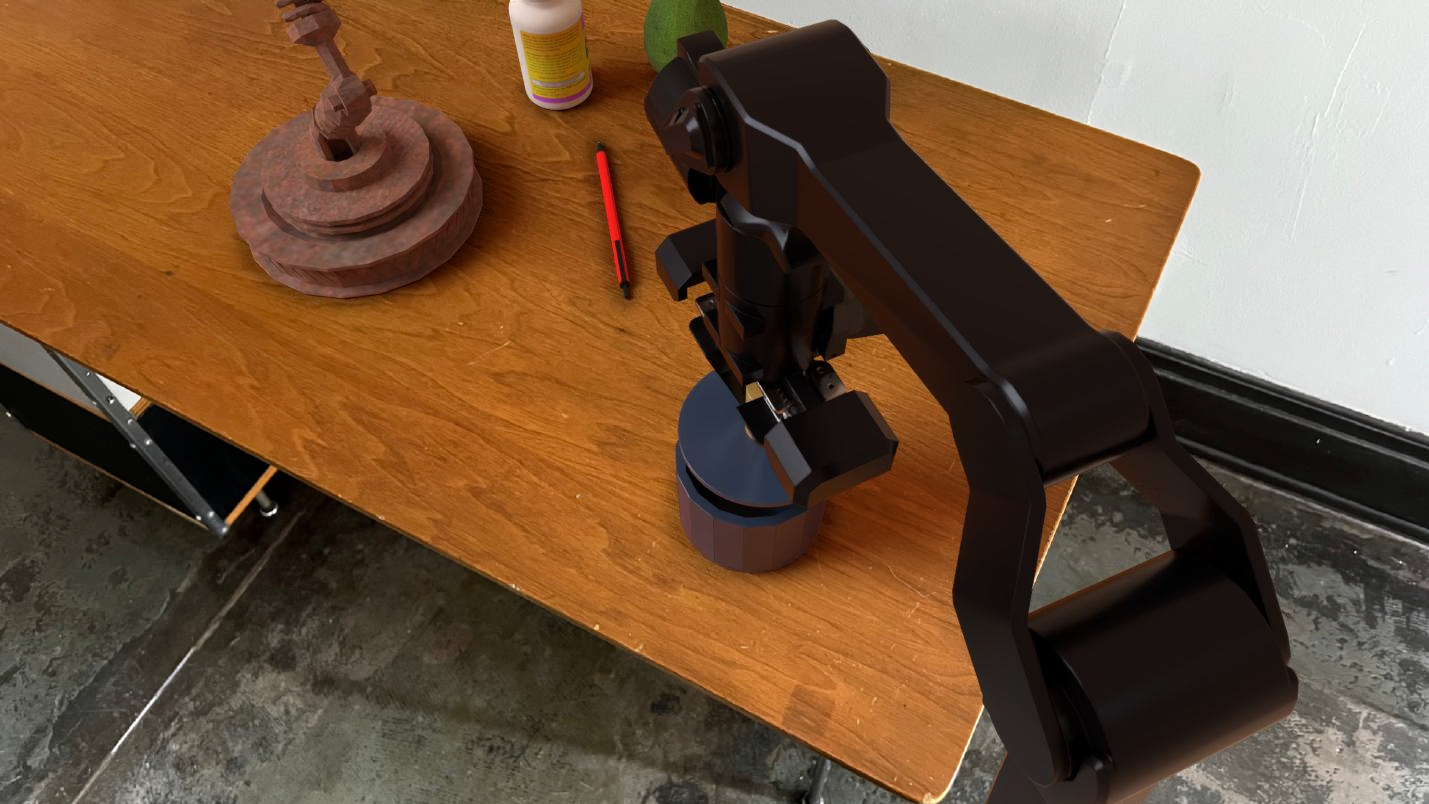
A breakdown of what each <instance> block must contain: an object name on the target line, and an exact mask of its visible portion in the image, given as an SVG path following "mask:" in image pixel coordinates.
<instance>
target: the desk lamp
mask: <svg viewBox="0 0 1429 804" xmlns="http://www.w3.org/2000/svg"><path fill="white" fill-rule="evenodd" d="M323 1H324V0H274V2H273V5H274V6H275V7H277V8H278V9H279V10H280V9H283V8H285V7H287V6H291V5H294V8H292V9H289V10H287V11H285V12H284V13H282V15H281V19H283V21H284V22H285V23H292V22H293V23H292V24H290V25H289V26H288V27H287V28H286V29H285V32H286V34H287V35H288V37H289V39H290V42H291V43H292V44H295V45H302V46H308V47H312V48H314V50H315V51H316V54H317V55H318V58H319V59H320V62H321V64H322V66H323V68H324V70H325V72H326V74H327V76H328V78H329V83H328V84H327V85H325V87H324V88H323V89H322V90H321V92H320V98H319V100H318V102H316V103H315V105H314V106H313V107H312V108H311V109H308V110H305V111H303V112H301V113H300V114H297V115H296V116H294V117H292V118H290V119H288V120H287V121H285V122H283V123H281V124H280V125H278V126H276V127H274V128H272V130H270V132H268V134H266V135H265V136H264V137H263V138H262V139H261V140H259V142H257V143H256V144H255V145H254V146H253V147H252V148H250V150H249V151H248V152H247V153H246V155H245V157H244V159H243V160H242V162H241V163H240V165H239V167H238V169H237V170H236V172H235V173H234V174H233V177H232V182H231V188H230V194H229V201H228V207H229V210H230V213H231V217H232V219H233V222H234V225H235V229H236V231H237V234H238V235H239V236H240V237H241V238H242V239H243V240H244V241H245V242H246V243H247V244H248V246H249V248H250V251H251V254H252V255H251V256H252V257H253V260H254V261H255V262H256V263H257V265H259V266H260V267H261V268H262V269H263V271H265V272H266V273H267V275H269V276H270V278H272V280H273V281H276V282H277V283H280V284H282V285H284V286H286V287H289V288H290V289H293V290H296V291H298V292H299V293H302V294H304V295H309V296H316V297H317V296H318V297H327V298H335V299H343V300H344V299H350V298H358V297H366V296H373V295H380V294H384V293H387V292H390V291H393V290H396V289H398V288H400V287H403V286H406V285H408V284H411V283H414V282H417V281H419V280H421V279H423V278H424V277H426V276H427V275H429V274H430V273H431V272H433V271H435V270H436V269H438V268H439V267H440V266H443V264H445V263H446V262H448V261H449V260H451V259H452V257H454V256H455V254H456V253H457V252H458V251H459V250H460V248H461V247H462V246H463V245H464V243H465V242H466V241H467V240H468V239H469V238H470V237H471V235H472V234H473V232H474V230H475V227H476V224H477V222H478V219H479V216H480V214H481V211H482V209H483V207H484V201H483V200H484V199H483V180H482V178H481V176H480V174H479V172H478V170H477V168H476V167H475V153H474V150H473V148H472V147H471V145H470V142H469V140H468V139H467V137H466V136H465V134H464V131H463V130H462V128H461V126H459V125H458V124H456V123H455V122H454V121H453V120H452V119H450V117H448V116H447V115H446V114H444V113H443V112H441V111H440V110H439V109H436V108H435V107H431V106H430V105H429V106H428V105H425V104H423V103H420V102H418V101H415V100H413V99H409V98H400V97H391V96H380V95H377V94H378V89H377V87H376V85H375V84H374V82H373V81H372V80H371V78H367V79H365V80H363V81H362V80H361V79H360V77H359V76H358V74H357V73H355V72H353V71H352V70H351V69H350V67H349V66H348V64H347V62H346V60H345V58H344V56H343V54H342V53H341V51H340V49H339V47H338V45H337V43H336V41H335V40H334V39H335V37H336V35H337V33H338V31H339V29H340V27H341V25H342V20H341V19H340V17H339V15H338V13H337V12H336V10H335V9H331V5H329V4H327V3H325V2H323ZM294 21H295V22H294Z"/></svg>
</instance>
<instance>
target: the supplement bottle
mask: <svg viewBox="0 0 1429 804" xmlns="http://www.w3.org/2000/svg"><path fill="white" fill-rule="evenodd" d="M583 10H584V9H583V4H582V1H581V0H509V4H508V15H509V20H510V24H511V29H512V33H513V38H514V42H515V47H516V51H517V56H518V61H519V66H520V72H521V75H522V80H523V84H524V85H523V86H524V89H525V93H526V95H527V97H528V98H529V100H530V101H531V102H532V103H534V104H535V105H537V106H538V107H541V108H543V109H547V110H551V111H552V110H554V111H561V110H566V109H571V108H574V107H576V106H578V105H580V104H582V103H583V102H584V101H586V99H587V98H588V97H589V96H590V95H591V92H592V90H593V88H594V87H593V86H594V80H593V79H594V78H593V72H592V63H591V58H590V53H589V47H588V38H587V32H586V25H585V18H584V11H583Z"/></svg>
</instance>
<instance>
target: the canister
mask: <svg viewBox="0 0 1429 804" xmlns="http://www.w3.org/2000/svg"><path fill="white" fill-rule="evenodd" d="M674 456H675V457H674V459H675V476H676V487H677V488H676V489H677V498H678V499H677V500H678V510H679V520H680V522H681V524H682V528H683V530H684V533H685V535H686V536H687V538H688V540H689V542H690V543H691V544H692V545H693V546H694V548H695V549H696V550H697V551H698V552H699V553H700V554H701V555H702V556H703V557H705V558H706V559H707V560H709V561H710V562H712V563H713V564H715V565H718V566H719V567H722V568H725V569H727V570H731V571H734V572H739V573H741V572H742V573H747V574H748V573H749V574H750V573H751V574H752V573H753V574H755V573H758V574H759V573H765V572H770V571H774V570H778V569H780V568H783V567H786V566H787V565H789V564H791V563H792V562H794V561H795V560H797V559H798V558H800V557H801V556H802V555H803V554H804V553H805V552H807V550H808V549H809V548H810V546H811V545H812V544H813V542H814V541H815V539H816V538H817V536H818V534H819V531H820V528H821V525H822V522H823V518H824V516H825V515H824V514H825V511H826V506H827V500H828V499H826V500H824V501H821V502H819V503H817V504H815V505H813V506H810V507H808V508H806V507H802V506H799V505H796V504H789V505H785V506H778V507H753V506H746V505H742V504H738V503H735V502H732V501H730V500H727V499H725V498H723V497H721V496H719V495H717V494H715V493H714V492H712V491H711V490H709V489H708V488H706V487H705V486H704V485H703V484H702V483H701V482H700V481H699V480H698V479H697V478H696V477H695V476H694V475H693V473H692V472H691V471H690V469H689V468H688V466H687V464H686V463H685V460H684V458H683V456H682V453H681V450H680V446H679V439H677V441H676V443H675V446H674Z"/></svg>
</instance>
